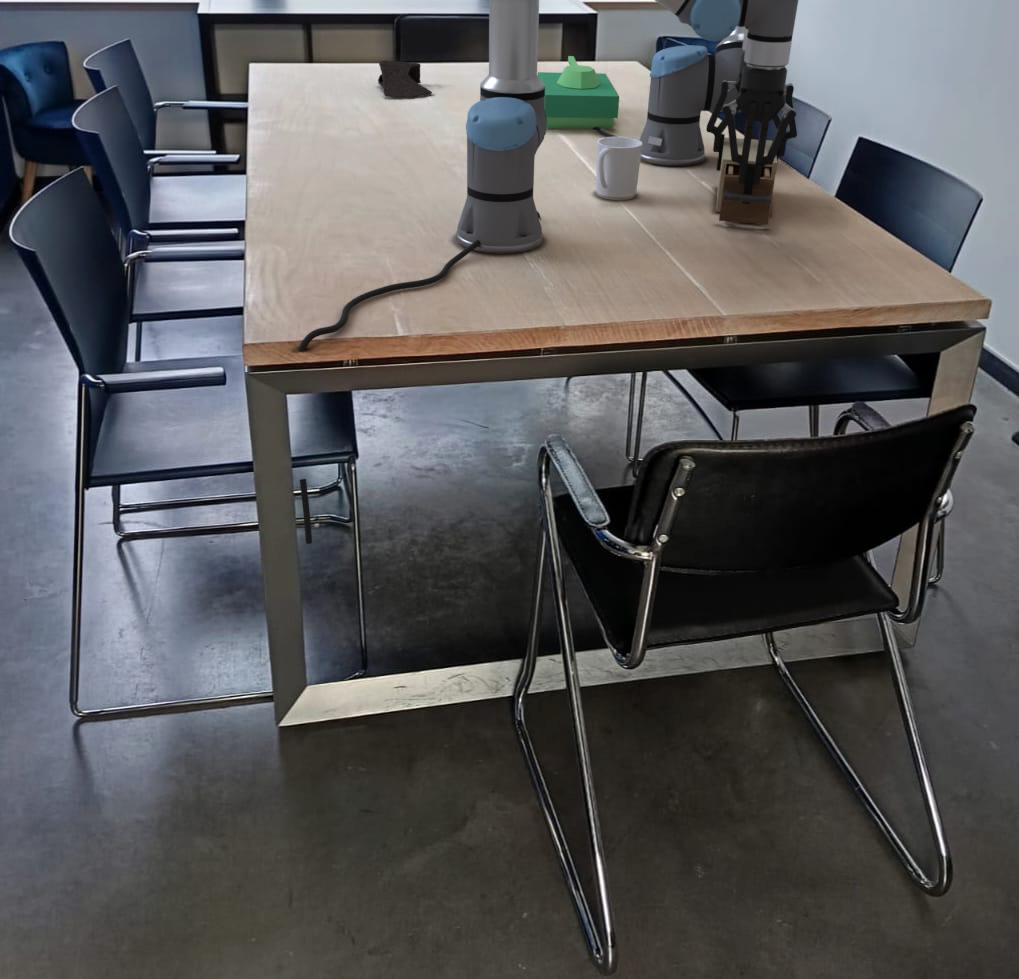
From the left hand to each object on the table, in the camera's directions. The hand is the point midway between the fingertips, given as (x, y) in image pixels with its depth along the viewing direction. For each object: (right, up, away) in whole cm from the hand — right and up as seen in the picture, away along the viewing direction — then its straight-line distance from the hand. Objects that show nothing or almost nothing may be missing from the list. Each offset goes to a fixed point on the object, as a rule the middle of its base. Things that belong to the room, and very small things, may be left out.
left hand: (746, 201), depth 200 cm
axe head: (-72, +57, +101) cm, 136 cm away
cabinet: (+3, +5, +19) cm, 20 cm away
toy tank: (-27, +43, +80) cm, 94 cm away
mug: (-22, +7, +21) cm, 31 cm away
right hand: (+4, +11, +20) cm, 23 cm away
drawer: (+1, 0, +9) cm, 9 cm away
